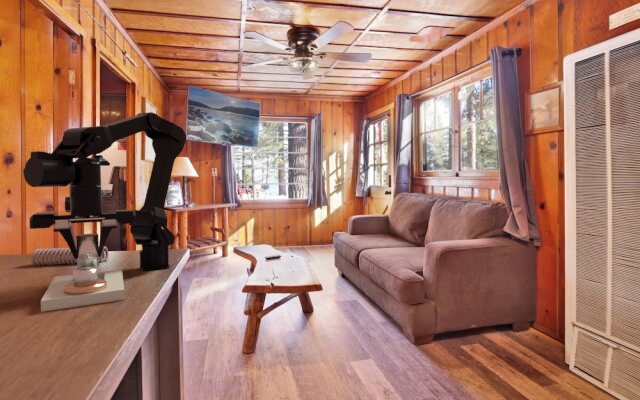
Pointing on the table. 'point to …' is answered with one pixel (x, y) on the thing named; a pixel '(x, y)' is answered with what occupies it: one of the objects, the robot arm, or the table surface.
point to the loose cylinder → (87, 250)
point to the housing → (60, 300)
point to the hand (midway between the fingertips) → (88, 257)
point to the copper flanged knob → (85, 282)
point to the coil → (59, 256)
